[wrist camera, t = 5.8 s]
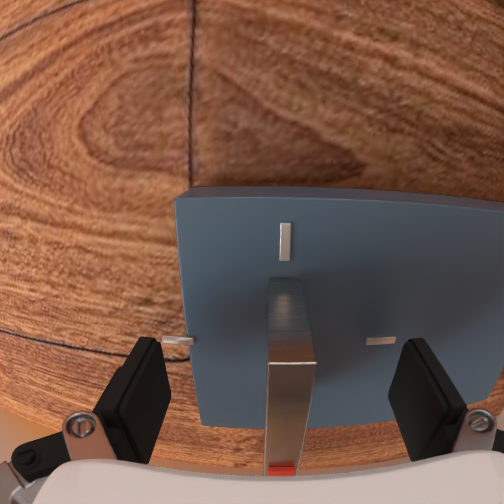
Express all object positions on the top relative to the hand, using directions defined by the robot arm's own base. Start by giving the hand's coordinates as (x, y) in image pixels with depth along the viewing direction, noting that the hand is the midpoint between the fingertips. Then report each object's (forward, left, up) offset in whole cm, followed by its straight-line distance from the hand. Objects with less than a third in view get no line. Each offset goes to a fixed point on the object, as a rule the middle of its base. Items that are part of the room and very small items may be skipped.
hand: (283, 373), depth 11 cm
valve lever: (0, 0, -2) cm, 2 cm away
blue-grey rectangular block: (-4, -3, -5) cm, 7 cm away
